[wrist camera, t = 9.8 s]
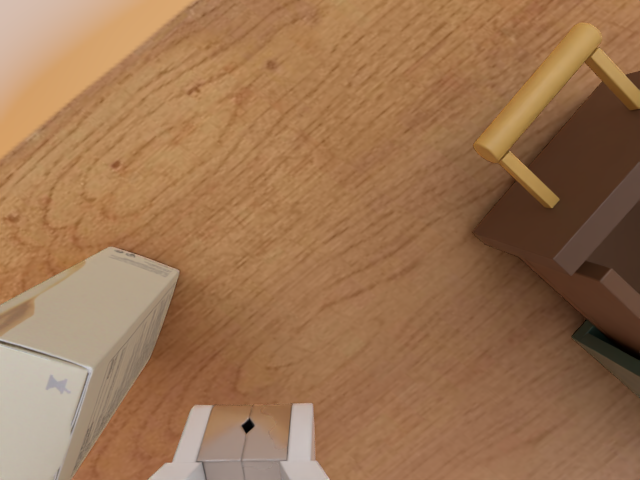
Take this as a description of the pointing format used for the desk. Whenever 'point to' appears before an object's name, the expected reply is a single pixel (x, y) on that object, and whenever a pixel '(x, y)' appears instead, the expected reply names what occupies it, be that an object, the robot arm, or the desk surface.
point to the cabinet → (609, 355)
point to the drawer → (576, 189)
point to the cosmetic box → (75, 358)
